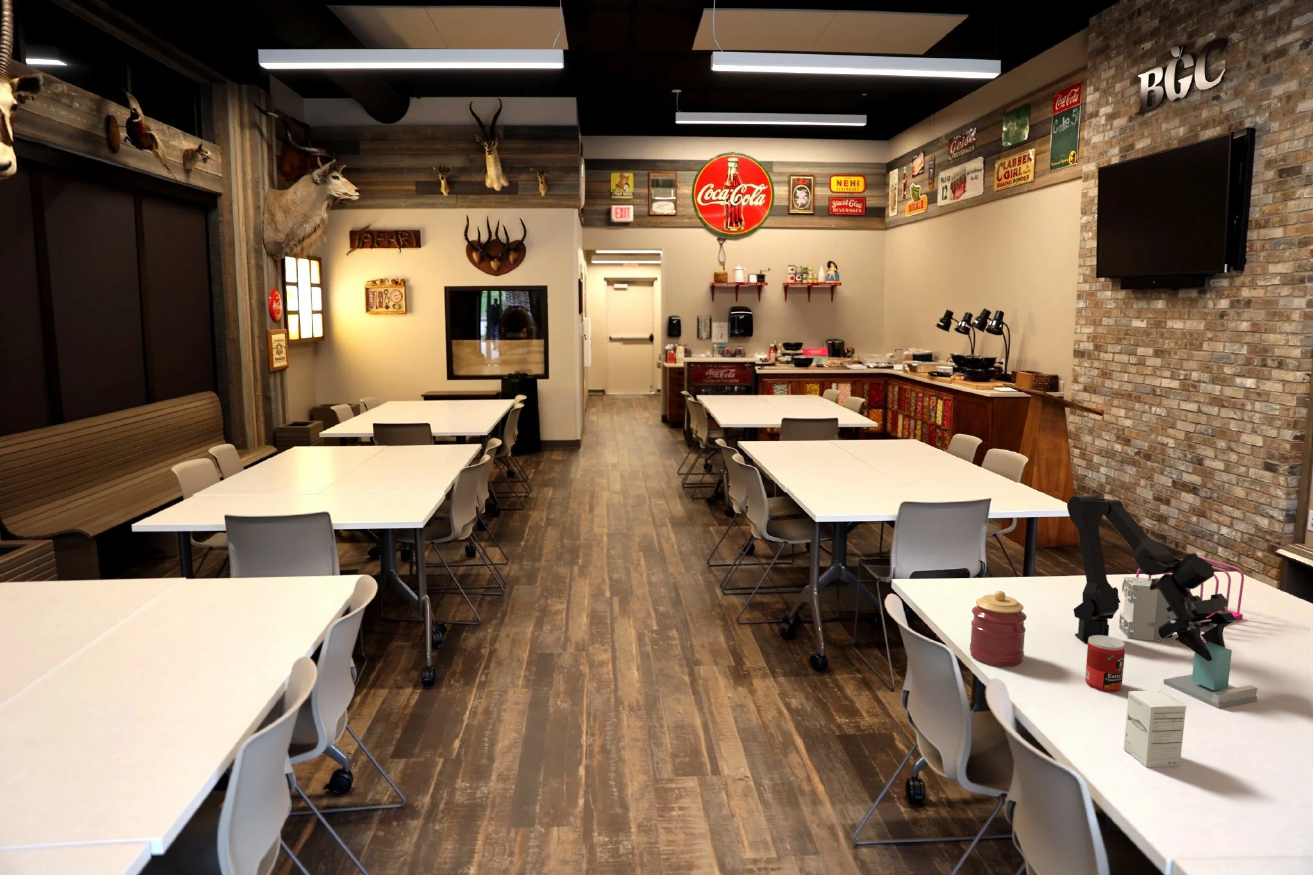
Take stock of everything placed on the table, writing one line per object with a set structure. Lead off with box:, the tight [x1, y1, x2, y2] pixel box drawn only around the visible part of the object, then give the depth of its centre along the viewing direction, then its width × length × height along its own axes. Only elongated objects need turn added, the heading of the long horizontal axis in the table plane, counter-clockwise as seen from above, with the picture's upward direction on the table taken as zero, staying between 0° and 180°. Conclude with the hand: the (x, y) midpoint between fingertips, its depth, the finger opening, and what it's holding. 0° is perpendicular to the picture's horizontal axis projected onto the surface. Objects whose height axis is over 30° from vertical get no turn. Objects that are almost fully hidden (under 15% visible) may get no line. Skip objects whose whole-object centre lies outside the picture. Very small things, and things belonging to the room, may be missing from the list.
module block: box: [1191, 641, 1233, 690], centre depth 201 cm, size 6×4×9 cm
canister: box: [969, 590, 1027, 667], centre depth 220 cm, size 13×13×18 cm
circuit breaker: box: [1118, 576, 1177, 641], centre depth 236 cm, size 8×14×15 cm, turn 78°
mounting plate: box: [1163, 673, 1258, 709], centre depth 201 cm, size 14×12×3 cm
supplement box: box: [1123, 689, 1187, 768], centre depth 171 cm, size 7×7×13 cm
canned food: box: [1084, 635, 1126, 693], centre depth 204 cm, size 8×8×11 cm
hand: (1217, 659), depth 199 cm, fingers closed on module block, 4 cm apart
